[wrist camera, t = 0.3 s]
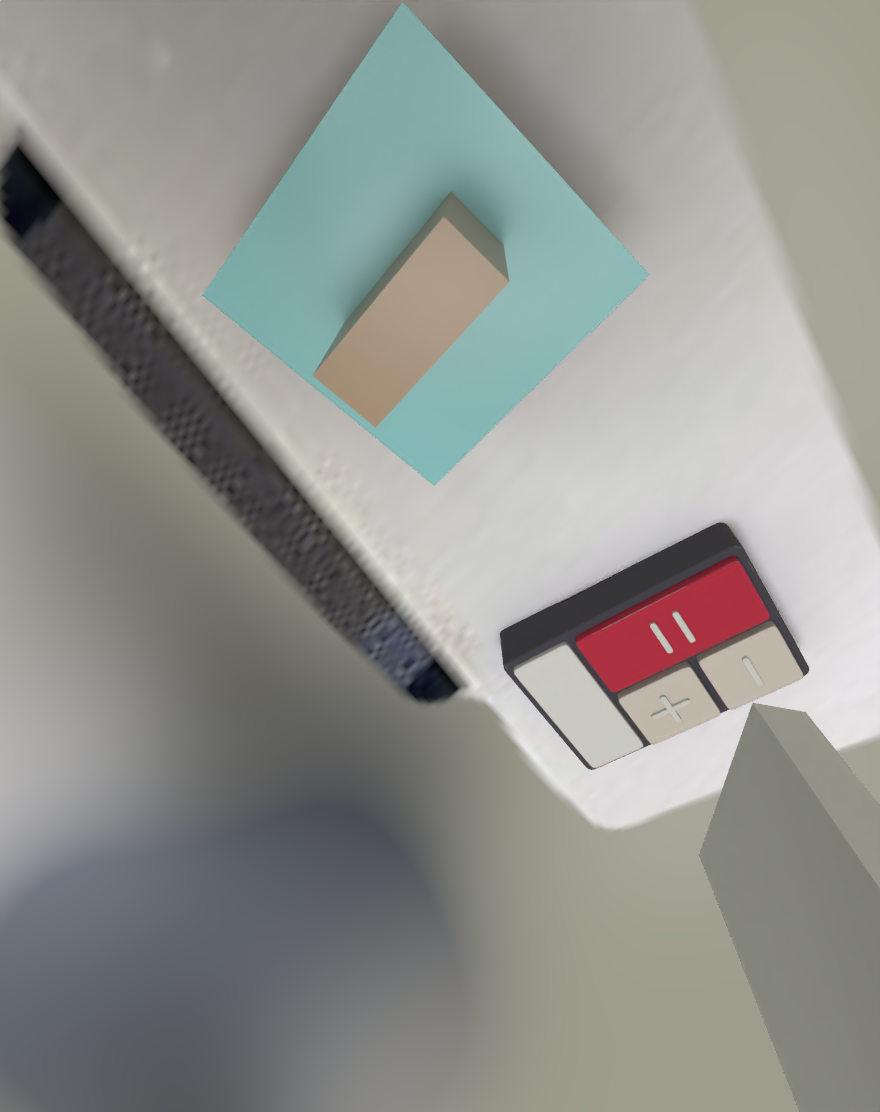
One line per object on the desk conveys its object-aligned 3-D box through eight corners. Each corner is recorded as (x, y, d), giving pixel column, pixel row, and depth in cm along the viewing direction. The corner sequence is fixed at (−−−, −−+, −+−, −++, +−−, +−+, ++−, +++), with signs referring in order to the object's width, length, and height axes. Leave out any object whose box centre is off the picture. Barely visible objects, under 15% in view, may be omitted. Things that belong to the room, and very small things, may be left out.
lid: (409, 10, 23) (378, -29, 16) (636, 261, 27) (691, 318, 20) (222, 280, 28) (136, 341, 21) (437, 460, 32) (425, 563, 25)
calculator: (818, 682, 41) (591, 782, 46) (788, 636, 45) (580, 733, 50) (745, 549, 37) (501, 675, 41) (718, 511, 40) (496, 630, 45)
